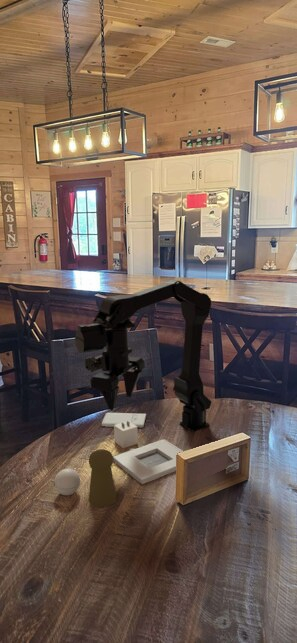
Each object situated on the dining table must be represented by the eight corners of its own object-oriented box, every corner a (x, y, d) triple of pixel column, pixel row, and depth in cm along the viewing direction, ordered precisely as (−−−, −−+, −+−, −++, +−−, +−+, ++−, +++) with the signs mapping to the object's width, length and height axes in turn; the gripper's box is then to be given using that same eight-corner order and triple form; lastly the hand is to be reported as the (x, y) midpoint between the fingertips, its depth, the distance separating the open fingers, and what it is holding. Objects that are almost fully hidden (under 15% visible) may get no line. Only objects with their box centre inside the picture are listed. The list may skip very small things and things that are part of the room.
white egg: (63, 484, 103) (62, 461, 102) (85, 488, 101) (84, 466, 100) (44, 502, 96) (42, 479, 95) (67, 508, 94) (66, 484, 93)
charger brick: (128, 437, 126) (128, 417, 124) (137, 443, 122) (137, 423, 121) (114, 442, 123) (113, 421, 122) (123, 448, 119) (122, 427, 118)
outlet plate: (163, 443, 122) (163, 439, 121) (195, 462, 111) (195, 458, 111) (113, 461, 113) (112, 456, 112) (141, 484, 102) (141, 479, 102)
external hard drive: (106, 416, 141) (146, 417, 140) (101, 428, 133) (143, 429, 132) (106, 412, 140) (146, 412, 139) (101, 423, 132) (143, 424, 131)
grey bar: (132, 450, 118) (132, 447, 118) (136, 453, 116) (136, 450, 116) (103, 461, 113) (103, 457, 113) (106, 464, 111) (106, 460, 111)
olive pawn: (121, 494, 99) (119, 448, 96) (107, 510, 93) (105, 462, 91) (97, 488, 101) (95, 443, 99) (83, 503, 96) (80, 456, 93)
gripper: (109, 334, 126) (112, 387, 129) (69, 353, 110) (74, 412, 113) (144, 338, 121) (146, 392, 124) (108, 357, 105) (112, 419, 108)
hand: (120, 403), depth 118 cm, fingers open, 9 cm apart
